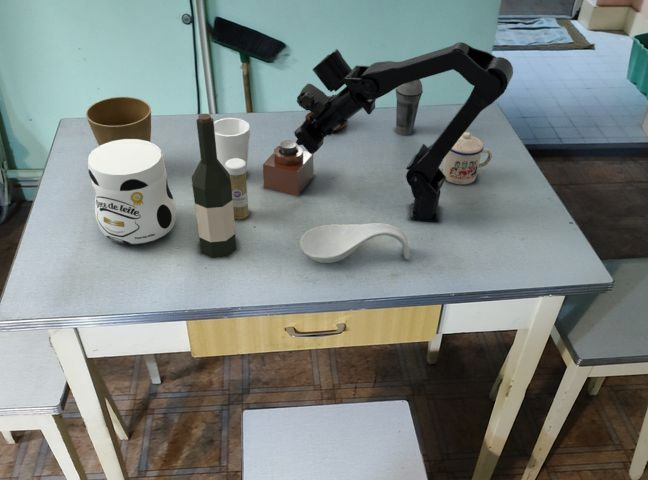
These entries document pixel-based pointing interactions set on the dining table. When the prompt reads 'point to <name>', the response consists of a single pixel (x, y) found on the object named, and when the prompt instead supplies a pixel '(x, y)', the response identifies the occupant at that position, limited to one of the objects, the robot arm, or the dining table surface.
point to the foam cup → (231, 139)
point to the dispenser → (288, 171)
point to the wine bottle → (213, 196)
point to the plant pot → (120, 119)
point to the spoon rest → (346, 240)
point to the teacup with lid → (464, 160)
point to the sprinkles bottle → (238, 187)
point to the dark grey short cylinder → (288, 148)
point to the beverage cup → (407, 106)
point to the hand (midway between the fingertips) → (297, 143)
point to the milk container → (131, 191)
